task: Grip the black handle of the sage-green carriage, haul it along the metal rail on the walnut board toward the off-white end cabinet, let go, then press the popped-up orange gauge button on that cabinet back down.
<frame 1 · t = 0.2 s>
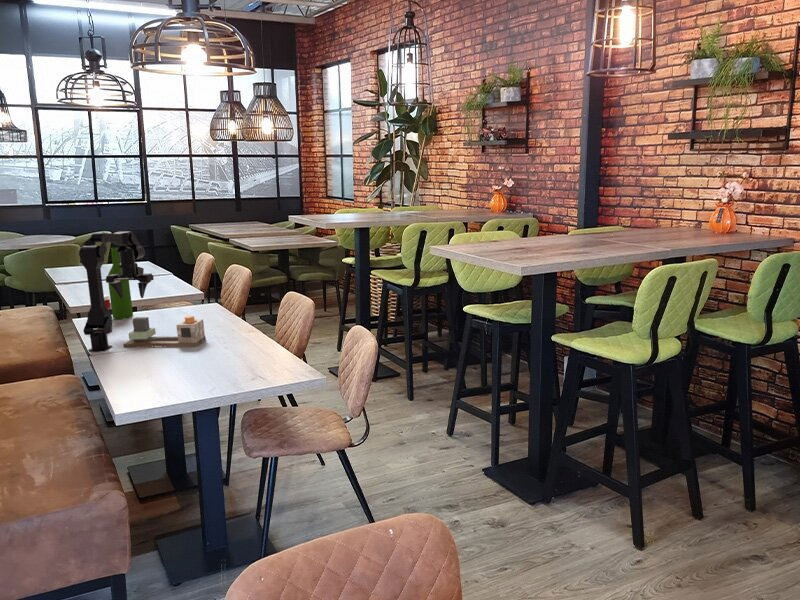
hand: (132, 298, 283), 14 cm above the table, tool pointing down, fingers open, 9 cm apart
wine bottle: (123, 317, 315), on the table
paper cup: (104, 328, 296), on the table
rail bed: (165, 343, 264), on the table
carriage: (141, 327, 263), point 7 cm above the table, slide at 0.0 cm
gauge button: (190, 323, 261), point 8 cm above the table, slide at 0.0 cm
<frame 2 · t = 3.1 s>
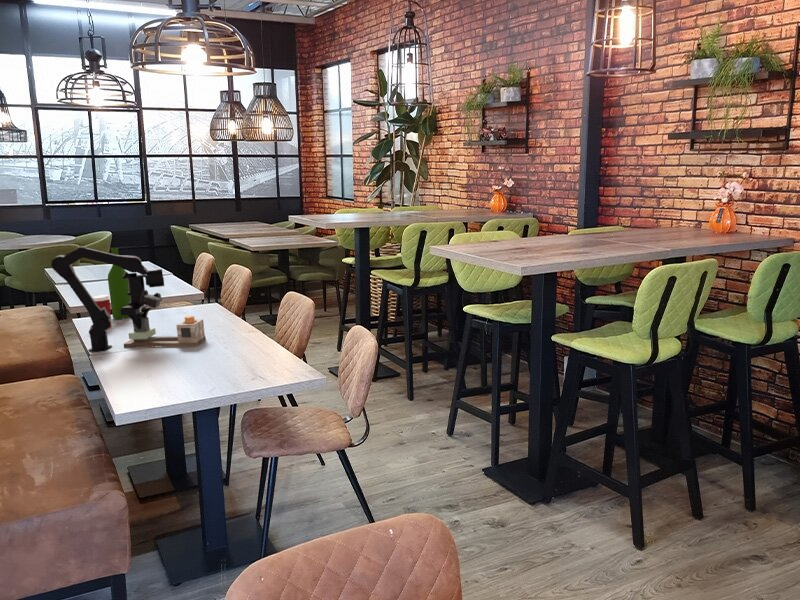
hand: (141, 327, 264), 7 cm above the table, tool pointing down, fingers closed on carriage, 3 cm apart
carriage: (141, 327, 263), point 7 cm above the table, slide at 0.0 cm, touching gripper
everything else where it was.
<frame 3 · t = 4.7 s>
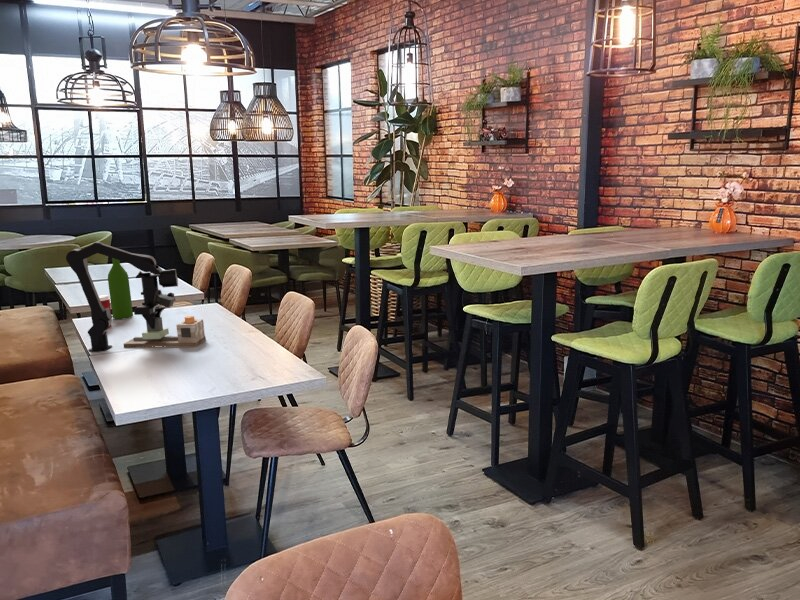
hand: (154, 327, 263), 7 cm above the table, tool pointing down, fingers closed on carriage, 3 cm apart
carriage: (154, 327, 263), point 7 cm above the table, slide at 5.5 cm, touching gripper
everything else where it was.
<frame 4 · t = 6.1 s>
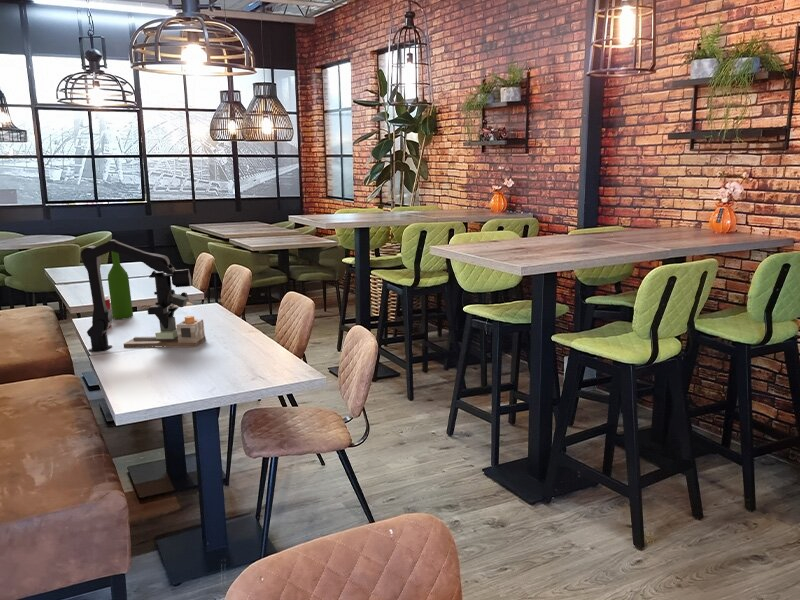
hand: (168, 327, 262), 7 cm above the table, tool pointing down, fingers closed on carriage, 3 cm apart
carriage: (168, 326, 262), point 7 cm above the table, slide at 10.9 cm, touching gripper
everything else where it was.
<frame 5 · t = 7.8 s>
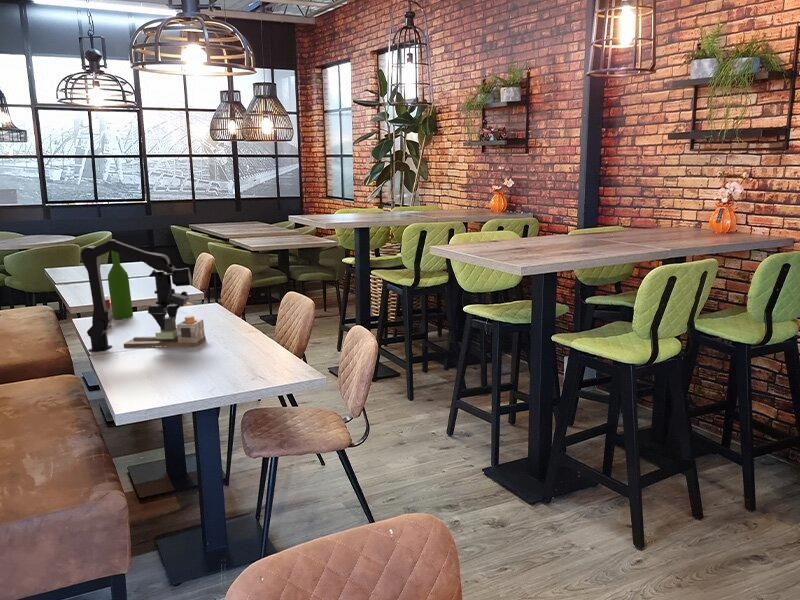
hand: (168, 326, 262), 7 cm above the table, tool pointing down, fingers open, 9 cm apart
carriage: (168, 326, 262), point 7 cm above the table, slide at 10.9 cm
everything else where it was.
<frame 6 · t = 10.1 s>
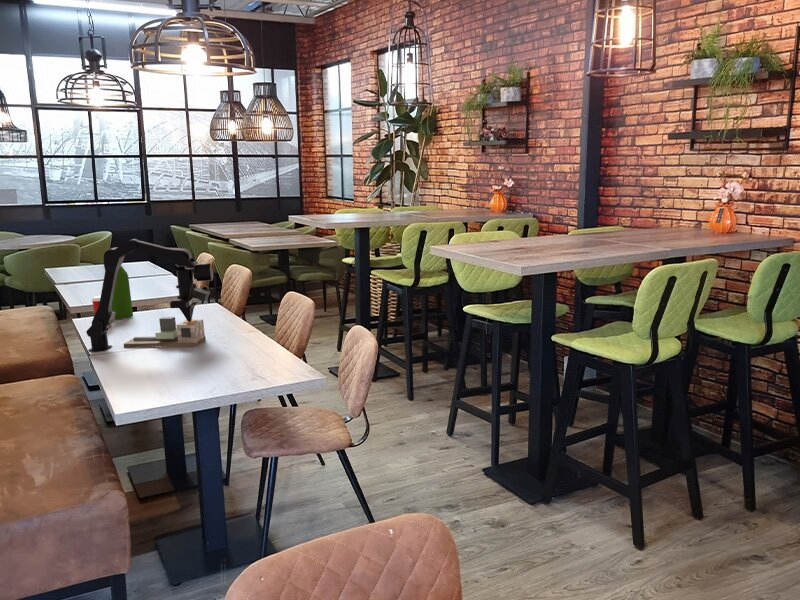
hand: (189, 321, 261), 9 cm above the table, tool pointing down, fingers closed, pressing on gauge button
gauge button: (190, 327, 261), point 6 cm above the table, slide at 1.7 cm, touching gripper
everything else where it was.
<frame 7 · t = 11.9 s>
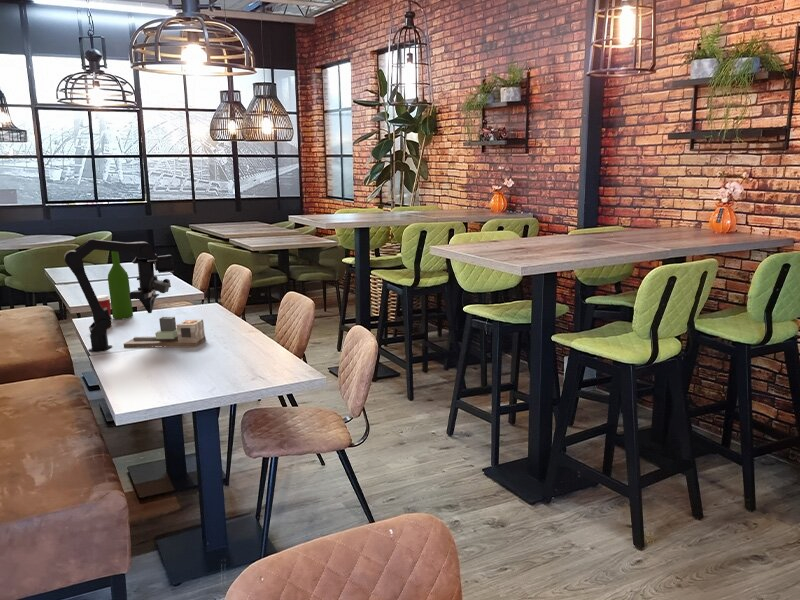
hand: (150, 313, 266), 12 cm above the table, tool pointing down, fingers closed
gauge button: (190, 328, 261), point 6 cm above the table, slide at 1.9 cm
everything else where it was.
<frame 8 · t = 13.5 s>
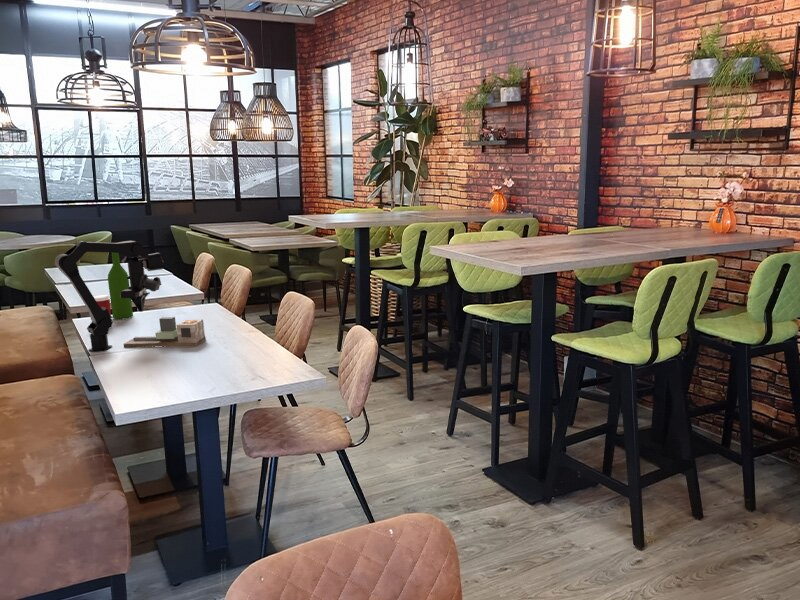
hand: (141, 311, 268), 12 cm above the table, tool pointing down, fingers closed
nothing on the table moved.
at the end: carriage slide at 10.9 cm; gauge button slide at 1.9 cm; the gripper is holding nothing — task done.
